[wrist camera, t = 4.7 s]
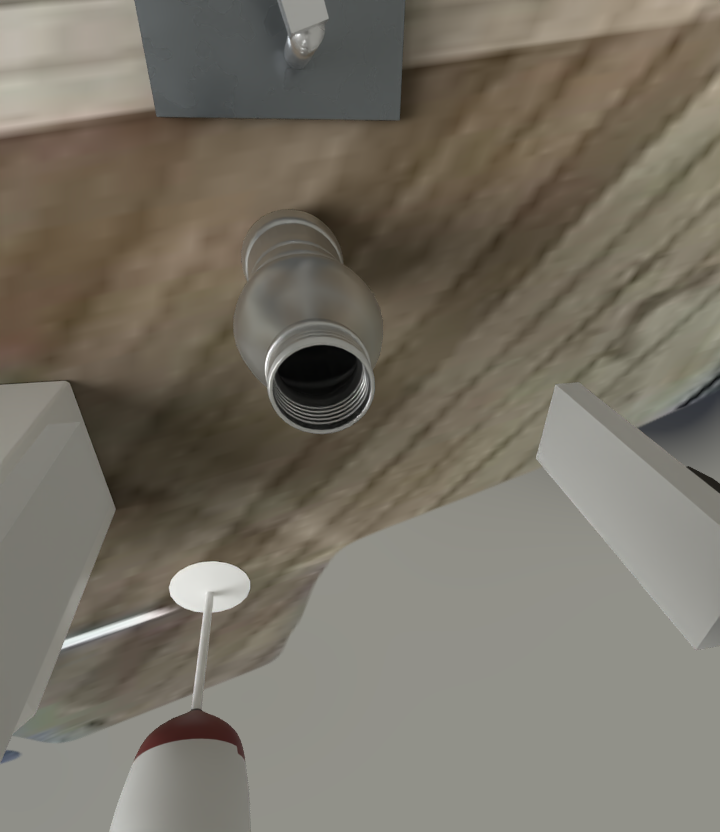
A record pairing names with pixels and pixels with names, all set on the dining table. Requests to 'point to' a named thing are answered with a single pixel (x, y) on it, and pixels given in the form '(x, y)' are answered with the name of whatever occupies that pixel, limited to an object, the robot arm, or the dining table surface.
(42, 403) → the gable box
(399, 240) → the dining table surface
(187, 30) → the grey platform with railing
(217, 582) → the wineglass
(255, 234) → the plastic bottle
